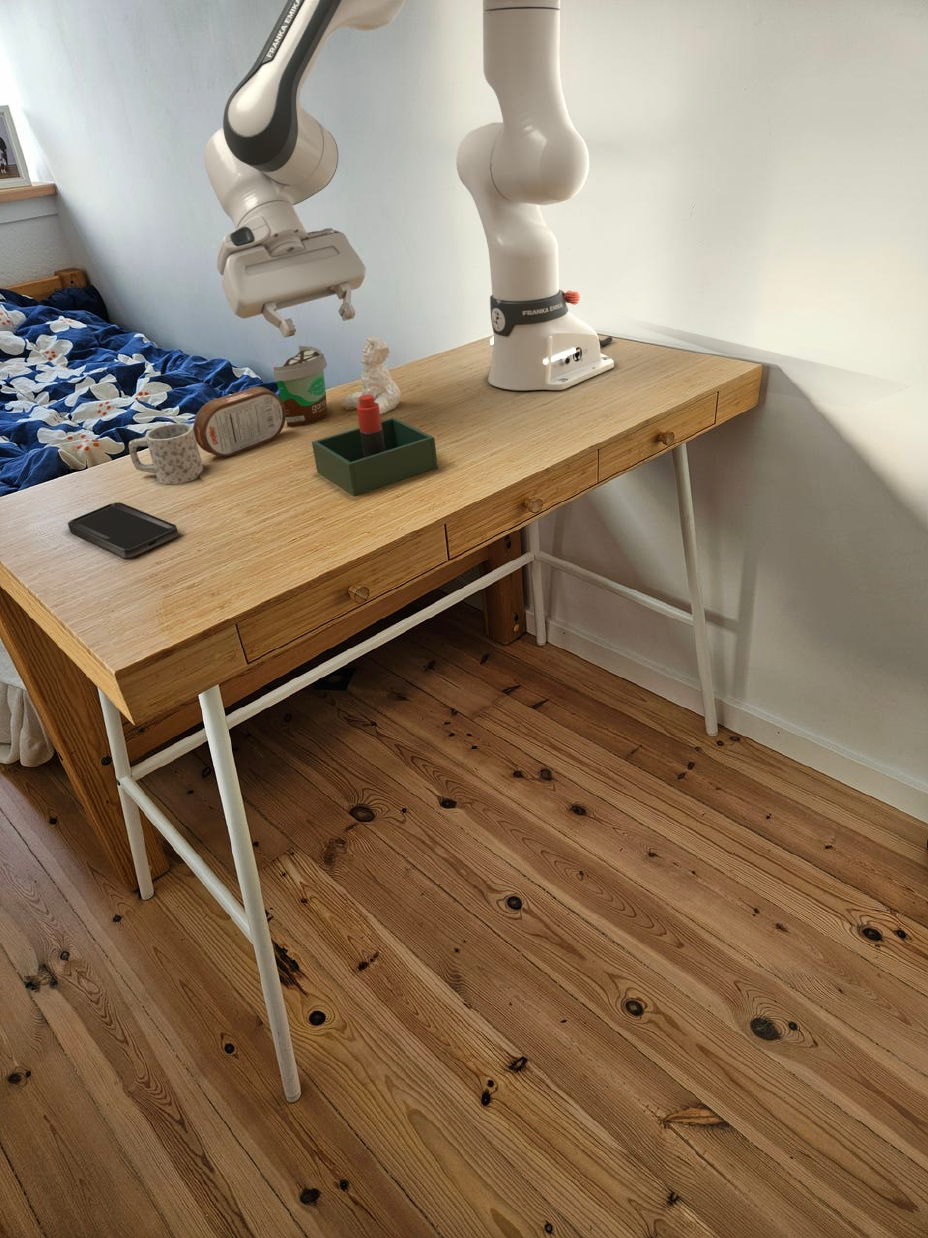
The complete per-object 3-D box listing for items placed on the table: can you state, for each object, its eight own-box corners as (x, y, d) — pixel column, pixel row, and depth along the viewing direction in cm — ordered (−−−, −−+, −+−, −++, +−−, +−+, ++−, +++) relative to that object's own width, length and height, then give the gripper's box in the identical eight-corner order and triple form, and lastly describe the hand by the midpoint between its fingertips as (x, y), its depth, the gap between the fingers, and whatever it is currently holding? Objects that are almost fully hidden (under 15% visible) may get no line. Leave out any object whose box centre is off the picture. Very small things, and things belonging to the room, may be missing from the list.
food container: (320, 429, 142) (309, 367, 137) (284, 430, 143) (271, 368, 138) (344, 403, 152) (335, 344, 147) (310, 403, 153) (300, 344, 148)
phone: (117, 500, 121) (179, 526, 113) (119, 508, 122) (182, 534, 113) (63, 523, 117) (124, 552, 108) (66, 531, 117) (127, 560, 108)
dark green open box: (397, 449, 132) (393, 416, 129) (438, 471, 124) (434, 437, 121) (317, 475, 126) (311, 441, 124) (354, 499, 118) (348, 464, 116)
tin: (282, 430, 143) (271, 378, 139) (293, 434, 141) (283, 382, 137) (199, 461, 135) (185, 407, 130) (210, 466, 133) (196, 411, 128)
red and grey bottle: (381, 463, 127) (370, 391, 121) (391, 469, 124) (382, 396, 119) (361, 469, 125) (350, 397, 120) (372, 476, 123) (361, 402, 118)
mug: (209, 464, 133) (198, 421, 130) (195, 483, 128) (183, 438, 124) (145, 468, 134) (133, 425, 131) (128, 486, 129) (115, 442, 125)
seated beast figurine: (342, 408, 150) (330, 336, 143) (388, 396, 153) (379, 325, 147) (365, 423, 143) (354, 348, 136) (413, 410, 146) (404, 336, 140)
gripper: (334, 239, 132) (377, 320, 132) (205, 269, 123) (251, 356, 122) (345, 211, 127) (390, 295, 126) (211, 240, 118) (259, 331, 117)
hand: (320, 325), depth 124 cm, fingers open, 8 cm apart
